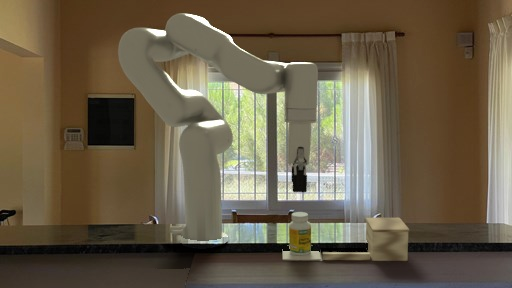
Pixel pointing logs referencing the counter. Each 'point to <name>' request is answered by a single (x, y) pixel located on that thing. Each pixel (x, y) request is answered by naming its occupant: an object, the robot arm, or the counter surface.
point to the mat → (311, 256)
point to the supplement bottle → (300, 234)
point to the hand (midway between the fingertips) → (298, 186)
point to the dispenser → (379, 242)
